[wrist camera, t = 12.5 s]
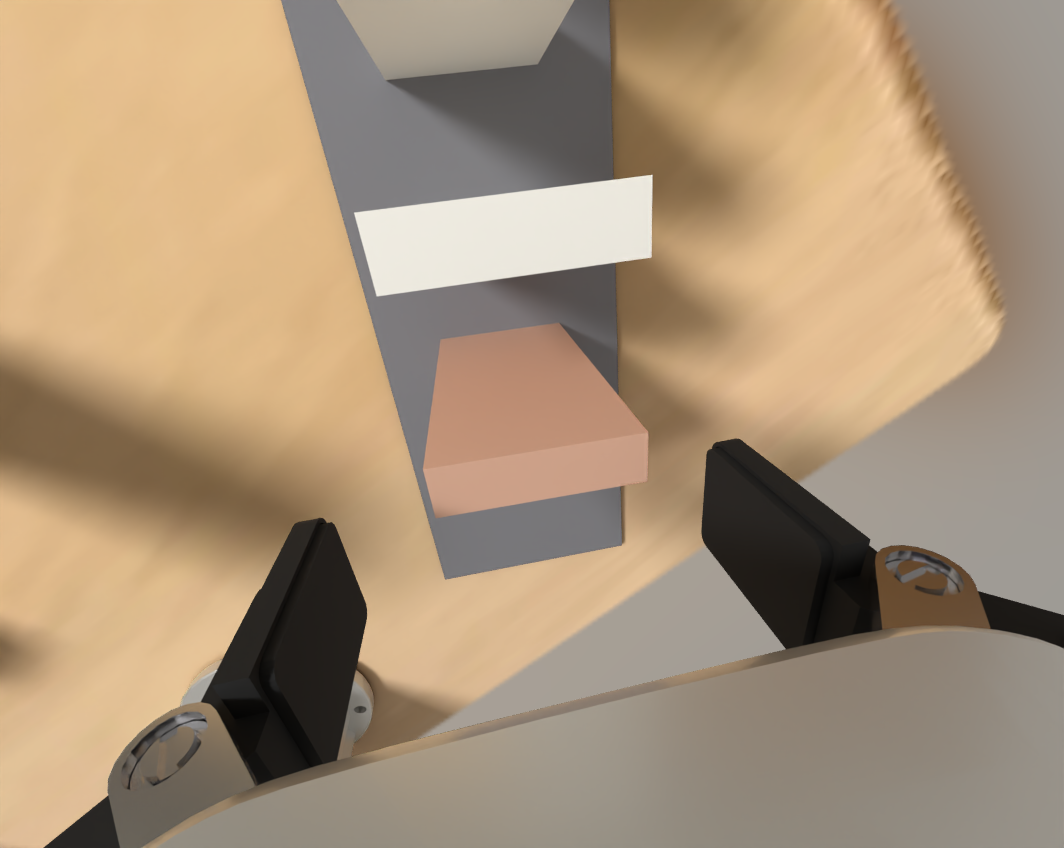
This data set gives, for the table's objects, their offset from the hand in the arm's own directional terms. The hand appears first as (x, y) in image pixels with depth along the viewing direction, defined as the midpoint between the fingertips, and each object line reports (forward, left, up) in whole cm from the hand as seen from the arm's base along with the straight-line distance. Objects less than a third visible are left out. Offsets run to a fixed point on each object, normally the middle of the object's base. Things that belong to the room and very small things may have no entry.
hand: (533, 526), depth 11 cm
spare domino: (0, -1, -13) cm, 13 cm away
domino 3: (+6, -3, -13) cm, 15 cm away
